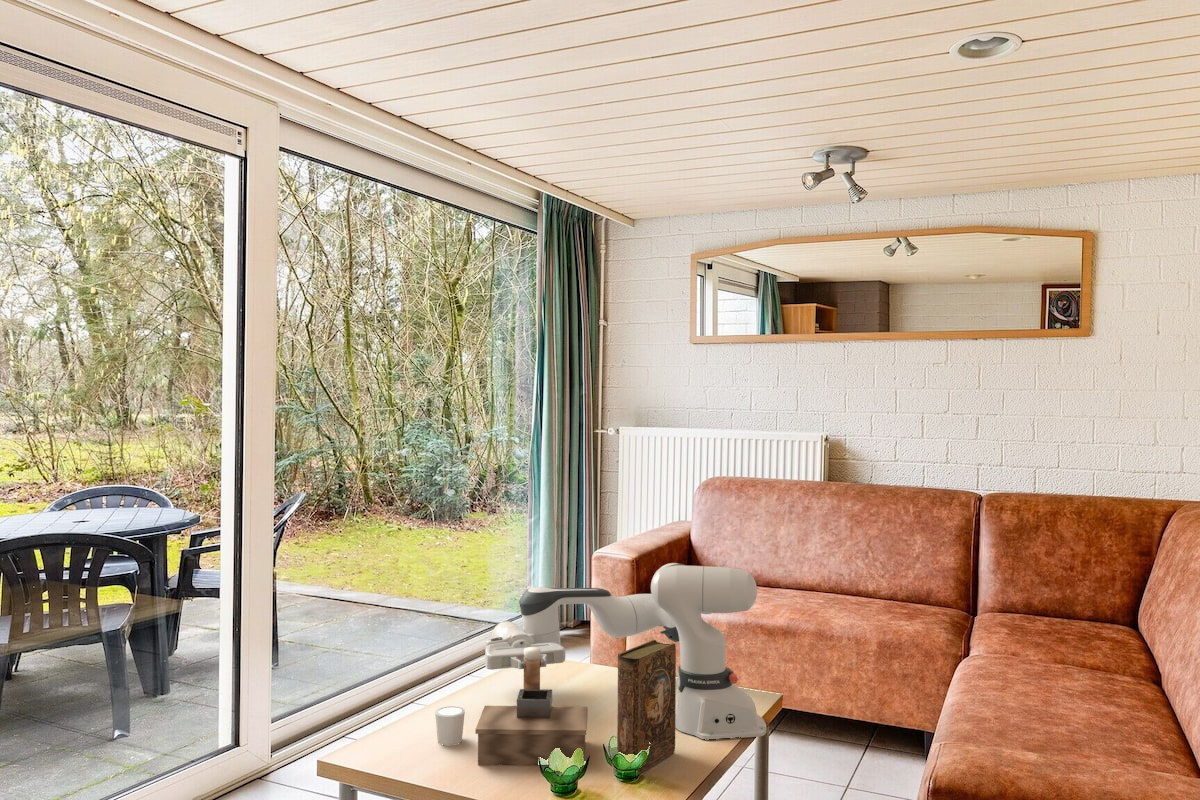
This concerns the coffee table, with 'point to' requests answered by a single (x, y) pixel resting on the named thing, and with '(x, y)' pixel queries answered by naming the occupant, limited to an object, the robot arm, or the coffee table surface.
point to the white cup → (449, 724)
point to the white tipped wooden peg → (532, 668)
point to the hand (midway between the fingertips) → (533, 664)
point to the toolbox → (529, 730)
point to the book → (647, 701)
